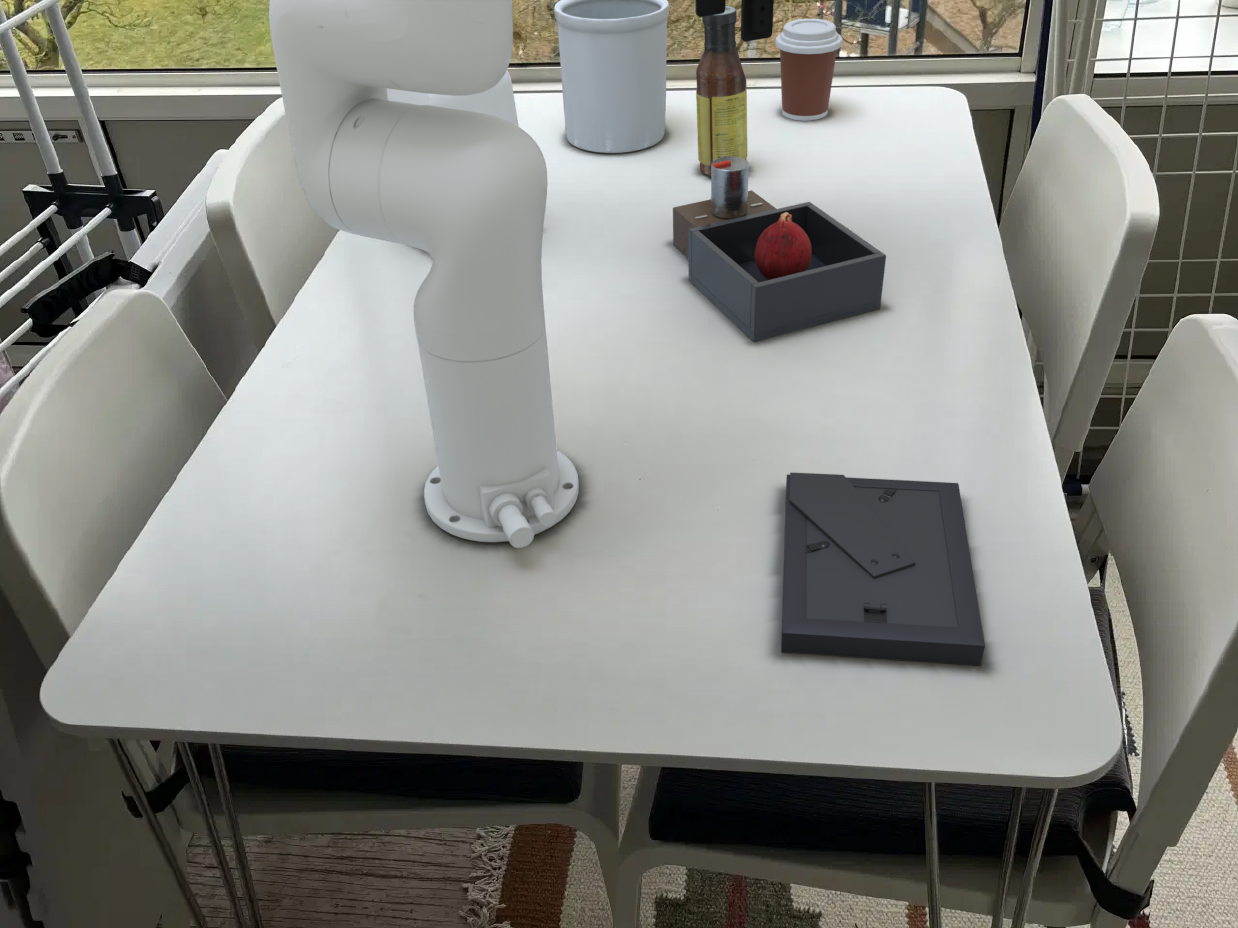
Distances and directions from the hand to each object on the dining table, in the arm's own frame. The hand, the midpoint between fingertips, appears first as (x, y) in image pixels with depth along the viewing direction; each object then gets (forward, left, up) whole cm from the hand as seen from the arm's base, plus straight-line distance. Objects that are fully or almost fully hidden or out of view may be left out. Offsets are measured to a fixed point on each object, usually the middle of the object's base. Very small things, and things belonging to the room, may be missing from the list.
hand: (732, 26), depth 113 cm
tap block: (0, 0, -24) cm, 24 cm away
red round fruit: (-12, 0, -24) cm, 26 cm away
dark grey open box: (-12, 0, -24) cm, 27 cm away
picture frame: (-52, +15, -24) cm, 60 cm away
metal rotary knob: (0, 0, -20) cm, 20 cm away
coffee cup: (+34, -30, -24) cm, 51 cm away
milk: (+18, +25, -24) cm, 40 cm away
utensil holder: (+38, -3, -24) cm, 46 cm away
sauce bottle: (+20, -10, -24) cm, 33 cm away
